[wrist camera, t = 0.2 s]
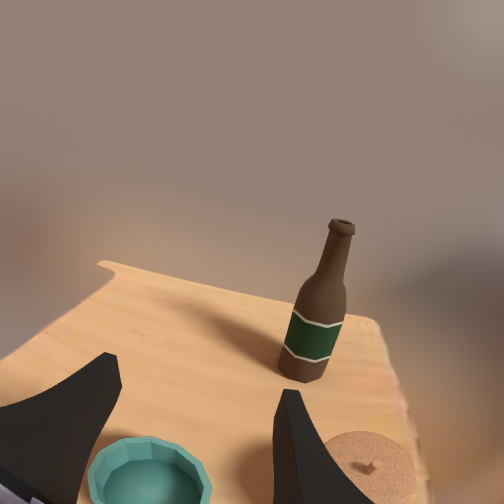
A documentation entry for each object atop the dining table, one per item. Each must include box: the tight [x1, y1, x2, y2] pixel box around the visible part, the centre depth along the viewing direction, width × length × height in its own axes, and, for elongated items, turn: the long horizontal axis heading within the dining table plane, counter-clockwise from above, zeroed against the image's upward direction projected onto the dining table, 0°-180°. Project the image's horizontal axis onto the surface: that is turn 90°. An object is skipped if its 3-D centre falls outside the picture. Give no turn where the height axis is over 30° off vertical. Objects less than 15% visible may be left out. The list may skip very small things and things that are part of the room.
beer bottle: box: [278, 219, 355, 383], centre depth 41 cm, size 8×8×24 cm
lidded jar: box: [324, 431, 417, 504], centre depth 21 cm, size 11×11×9 cm
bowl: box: [87, 436, 212, 504], centre depth 19 cm, size 11×11×4 cm
